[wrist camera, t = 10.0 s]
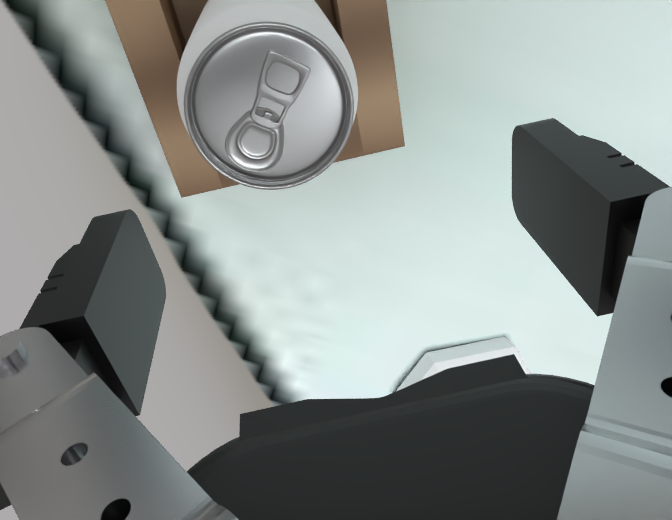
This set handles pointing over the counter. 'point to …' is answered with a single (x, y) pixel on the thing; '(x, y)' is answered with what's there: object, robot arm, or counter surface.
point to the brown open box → (169, 44)
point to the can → (267, 91)
